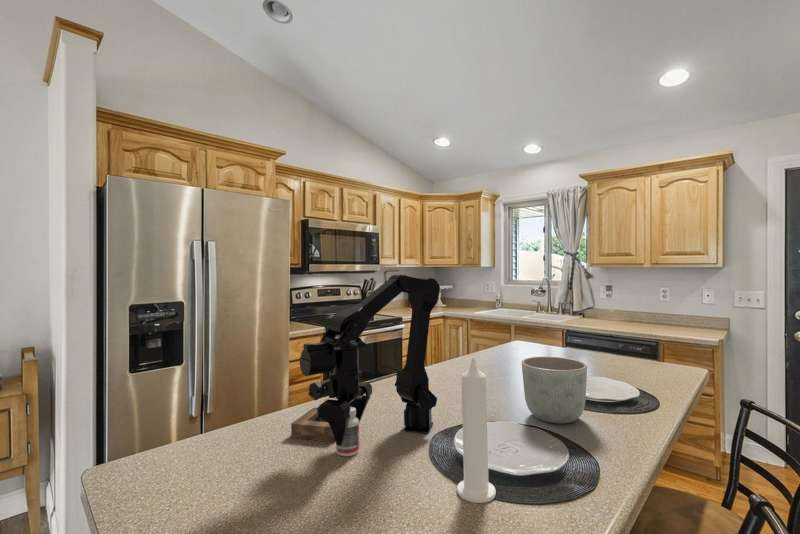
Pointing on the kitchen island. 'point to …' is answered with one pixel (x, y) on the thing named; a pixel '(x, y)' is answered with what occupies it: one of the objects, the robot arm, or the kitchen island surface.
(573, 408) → the planter
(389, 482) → the kitchen island surface
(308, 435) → the socket block
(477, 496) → the candle
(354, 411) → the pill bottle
